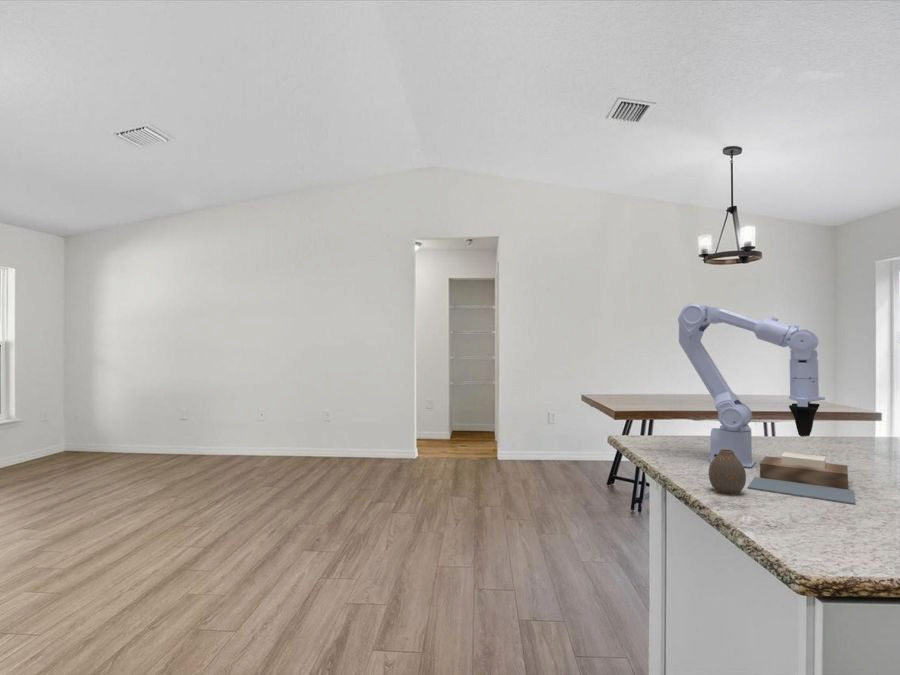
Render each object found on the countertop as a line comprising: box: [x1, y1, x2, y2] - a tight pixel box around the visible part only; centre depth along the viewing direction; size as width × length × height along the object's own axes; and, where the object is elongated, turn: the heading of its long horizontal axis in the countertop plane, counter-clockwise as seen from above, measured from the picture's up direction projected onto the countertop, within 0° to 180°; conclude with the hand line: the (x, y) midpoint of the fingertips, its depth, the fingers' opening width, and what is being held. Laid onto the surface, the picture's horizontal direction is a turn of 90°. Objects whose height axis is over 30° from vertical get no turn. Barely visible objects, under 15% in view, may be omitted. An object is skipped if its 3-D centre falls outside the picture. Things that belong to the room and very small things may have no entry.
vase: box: [708, 449, 747, 495], centre depth 104 cm, size 7×7×9 cm
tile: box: [780, 451, 826, 469], centre depth 114 cm, size 8×6×2 cm
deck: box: [759, 455, 849, 490], centre depth 114 cm, size 16×10×4 cm, turn 51°
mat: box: [747, 476, 856, 506], centre depth 105 cm, size 18×11×1 cm, turn 51°
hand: (805, 433), depth 121 cm, fingers open, 6 cm apart
